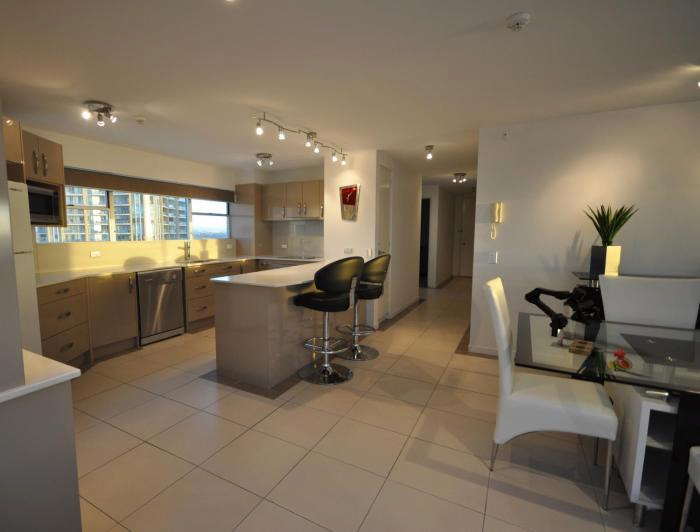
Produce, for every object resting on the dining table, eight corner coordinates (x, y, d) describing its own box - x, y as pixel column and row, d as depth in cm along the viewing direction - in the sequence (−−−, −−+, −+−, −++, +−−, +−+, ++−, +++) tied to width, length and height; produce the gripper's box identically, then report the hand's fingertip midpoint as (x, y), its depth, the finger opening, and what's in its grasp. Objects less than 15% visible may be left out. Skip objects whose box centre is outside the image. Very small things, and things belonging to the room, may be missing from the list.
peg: (556, 345, 205) (557, 329, 204) (557, 344, 207) (558, 328, 206) (562, 346, 203) (563, 330, 202) (563, 345, 205) (564, 329, 204)
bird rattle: (627, 374, 170) (607, 362, 176) (640, 357, 165) (619, 345, 171) (624, 377, 166) (604, 365, 172) (637, 360, 161) (616, 348, 167)
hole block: (568, 352, 194) (568, 347, 194) (574, 343, 209) (574, 339, 208) (589, 356, 187) (589, 351, 187) (593, 347, 202) (594, 342, 202)
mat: (549, 346, 205) (549, 346, 205) (553, 342, 212) (553, 341, 212) (566, 349, 199) (567, 349, 199) (569, 345, 206) (570, 344, 206)
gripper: (570, 298, 203) (592, 317, 191) (593, 294, 208) (615, 312, 197) (562, 311, 210) (582, 330, 198) (584, 306, 215) (605, 324, 204)
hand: (596, 324), depth 199 cm, fingers open, 9 cm apart
